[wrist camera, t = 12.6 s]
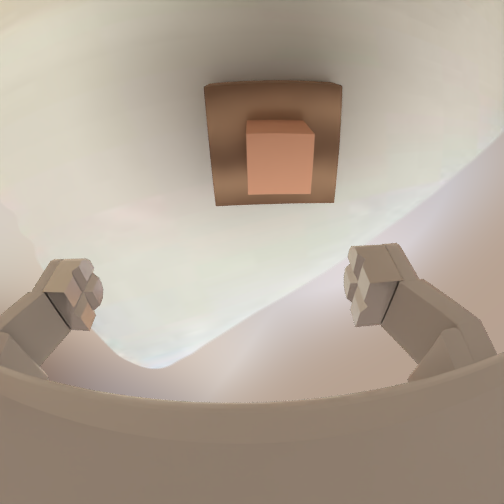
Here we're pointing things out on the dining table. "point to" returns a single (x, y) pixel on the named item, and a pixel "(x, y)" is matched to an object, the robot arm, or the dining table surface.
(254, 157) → the terracotta cube
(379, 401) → the robot arm
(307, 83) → the walnut board
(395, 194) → the dining table surface
